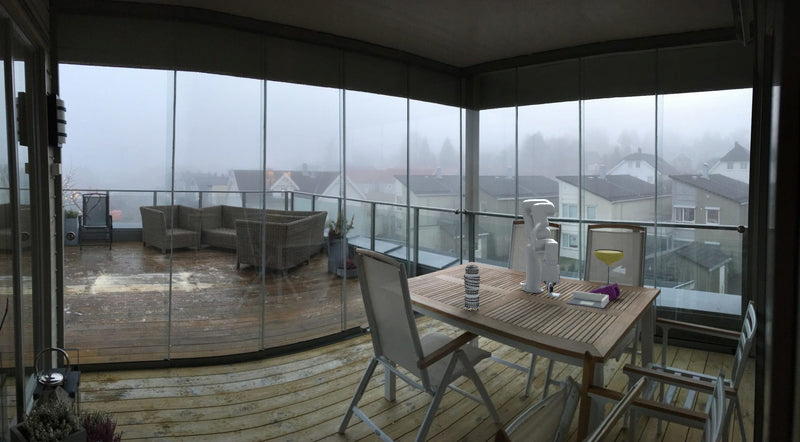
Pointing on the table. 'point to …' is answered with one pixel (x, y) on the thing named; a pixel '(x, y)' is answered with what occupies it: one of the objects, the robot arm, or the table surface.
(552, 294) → the angle bracket
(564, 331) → the table surface
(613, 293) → the mounting bracket
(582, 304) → the tray
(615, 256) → the cocktail glass
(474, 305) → the decorative candle
